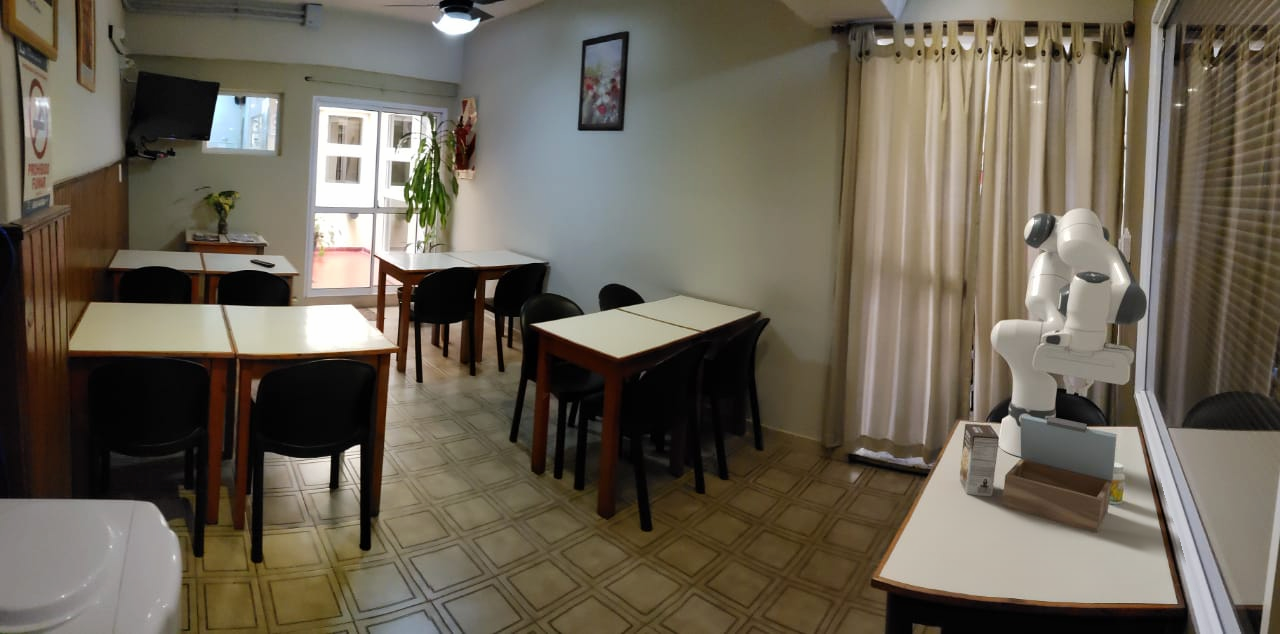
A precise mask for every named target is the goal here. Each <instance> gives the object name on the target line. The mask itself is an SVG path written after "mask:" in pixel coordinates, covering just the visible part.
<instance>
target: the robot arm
mask: <svg viewBox="0 0 1280 634" xmlns="http://www.w3.org/2000/svg"><path fill="white" fill-rule="evenodd" d="M1023 235H1024V236H1023V237H1024V239H1023V240H1024V243H1025V244H1026V245H1027V246H1029V247H1031V248H1033V249H1036V250H1037V249H1040V250H1042V251H1044V252H1042V253H1040V254H1039V255H1038V256H1037V257H1036V258H1035V260H1034V263H1033V266H1032V267H1031V270H1030V274H1029V278H1028V281H1027V282H1028V283H1027V289H1026V295H1025V301H1024V302H1025V303H1024V304H1025V307H1026V308H1027V310H1028V311H1029V312H1030V314H1032V315H1033V316H1034V317H1036V318H1038V319H1040V320H1041V321H1038V320H1029V319H1018V318H1017V319H1003V320H1000V321H998V322H997V323H996V324H995V325H994V326H993V328H992V329H991V332H990V342H991V345H992V347H993V349H994V350H995V351H996V353H997V354H999V355H1000V356H1001V357H1002V358H1003V359H1004V360H1005V362H1006V363H1007V364H1008V366H1009V369H1010V371H1011V376H1012V396H1011V401H1010V402H1009V405H1008V411H1007V412H1008V415H1006V416H1005V417H1003V418H1002V419H1001V424H1000V430H999V435H998V437H999V443H998V448H1000V449H1001V450H1002V451H1004V452H1005V453H1008V454H1011V455H1013V456H1017V457H1019V458H1021V419H1020V417H1021V415H1027V416H1031V417H1036V418H1041V419H1046V420H1047V419H1048V417H1054V418H1056V415H1057V411H1056V410H1057V409H1056V398H1057V390H1058V383H1057V380H1056V379H1055V378H1054V377H1053V376H1052V375H1050V374H1055V375H1061V376H1063V377H1062V380H1063V382H1064V384H1065V386H1066V394H1070V395H1074V394H1075V392H1076V386H1074V385H1072V383H1071V381H1070V380H1071V379H1072V377H1074V378H1079V379H1085V384H1087V385H1086V386H1085V387H1080V388H1079V389H1078V396H1080V397H1084V398H1085V397H1087V394H1088V389H1089V388H1090V387H1091V386H1092V385H1093V384H1094V383H1095V381H1096V382H1103V383H1108V384H1113V385H1114V384H1115V385H1119V386H1123V385H1126V384H1127V383H1128V382H1129V381H1130V377H1131V365H1132V364H1133V362H1134V360H1135V351H1133V349H1131V348H1130V347H1128V345H1125V344H1115V343H1112V342H1111V343H1110V342H1106V341H1107V335H1108V324H1115V325H1120V326H1126V327H1130V326H1132V325H1134V324H1136V323H1138V322H1140V321H1141V320H1142V319H1144V318H1145V315H1146V312H1147V310H1148V309H1147V308H1148V301H1147V295H1146V293H1145V291H1144V290H1143V288H1142V287H1141V286H1140V285H1139V283H1138V282H1137V279H1136V277H1135V275H1134V273H1133V271H1132V269H1131V266H1130V265H1129V262H1128V260H1127V259H1126V256H1125V255H1124V253H1123V251H1122V250H1121V249H1119V248H1117V247H1116V246H1114V245H1113V244H1112V243H1110V237H1111V236H1110V235H1111V234H1110V232H1109V229H1108V228H1106V227H1104V226H1103V225H1102V223H1101V221H1100V219H1099V216H1098V215H1097V214H1096V213H1095V212H1094V211H1092V210H1091V209H1088V208H1082V207H1080V208H1079V207H1078V208H1074V209H1071V210H1068V211H1067V212H1066V213H1065V214H1064V215H1063V216H1062V215H1055V214H1050V213H1036V214H1035V215H1033V216H1031V218H1030V219H1029V221H1028V222H1027V223H1026V225H1025V227H1024V231H1023ZM1073 268H1074V269H1078V270H1082V272H1077V273H1076V274H1075V275H1074V276H1073V278H1072V271H1073ZM1107 323H1108V324H1107Z"/></svg>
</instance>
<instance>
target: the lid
mask: <svg viewBox="0 0 1280 634" xmlns="http://www.w3.org/2000/svg"><path fill="white" fill-rule="evenodd" d="M1020 419H1021V457H1020V459H1024V460H1028V461H1032V462H1036V463H1040V464H1044V465H1048V466H1053V467H1057V468H1061V469H1065V470H1069V471H1073V472H1077V473H1081V474H1085V475H1089V476H1093V477H1097V478H1102V479H1106V480H1110V481H1112V480H1113V476H1114V462H1116V449H1117V448H1116V446H1117V433H1113V432H1107V431H1102V430H1097V429H1093V428H1088V426H1087V425H1088V424H1087V423H1085V422H1084V423H1083V422H1077V421H1073V420H1069V419H1063V418H1058V417H1055V418H1054V417H1048V419H1047V420H1046V419H1041V418H1036V417H1031V416H1027V415H1021V417H1020Z"/></svg>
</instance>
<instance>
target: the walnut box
mask: <svg viewBox="0 0 1280 634" xmlns="http://www.w3.org/2000/svg"><path fill="white" fill-rule="evenodd" d="M1004 476H1005V477H1004V485H1003V490H1002V491H1003V493H1002V500H1001V506H1003V507H1005V508H1009V509H1013V510H1016V511H1020V512H1023V513H1026V514H1030V515H1033V516H1038V517H1040V518H1044V519H1048V520H1051V521H1054V522H1058V523H1061V524H1065V525H1068V526H1072V527H1075V528H1079V529H1082V530H1085V531H1089V532H1093V533H1095V534H1096V533H1098V530H1099V529H1100V526H1101V525H1102V523H1103V521H1104V519H1105V518H1106V515H1107V513H1108V511H1109V505H1110V504H1109V499H1110V493H1111V486H1112V481H1110V480H1106V479H1102V478H1097V477H1093V476H1089V475H1085V474H1081V473H1077V472H1073V471H1069V470H1065V469H1061V468H1057V467H1053V466H1048V465H1044V464H1040V463H1036V462H1032V461H1028V460H1024V459H1021V458H1020V459H1019V460H1018V461H1017V462H1016V463H1015V464H1014V465H1013V466H1012V468H1011V469H1009V471H1008V472H1007V473H1006V474H1005V475H1004Z"/></svg>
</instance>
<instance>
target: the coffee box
mask: <svg viewBox="0 0 1280 634" xmlns="http://www.w3.org/2000/svg"><path fill="white" fill-rule="evenodd" d="M962 442H963V443H962V451H961V459H960V460H961V462H960V469H959V482H960V484H961V486H962V488H963V489H964V491H965V494H966V495H972V496H983V497H992V496H993V488H994V482H995V474H996V473H995V472H996V466H997V465H996V464H997V457H998V451H999V450H998V449H999V446H998V443H999V435H998V434H997V432H996V431H995V430H994V428H993V427H992V425H989V424H977V423H976V424H973V423H965V424H964V433H963V441H962Z"/></svg>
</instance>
